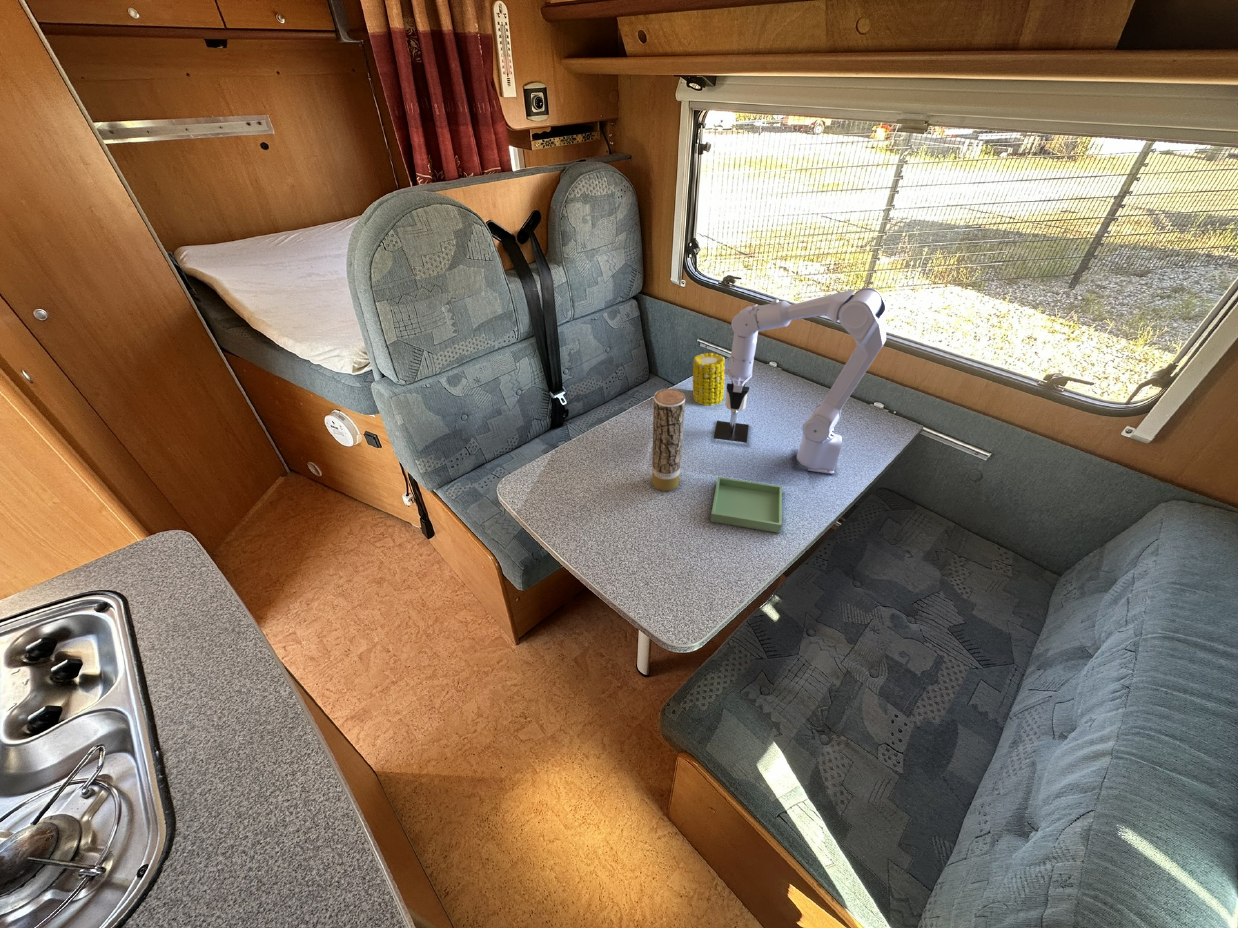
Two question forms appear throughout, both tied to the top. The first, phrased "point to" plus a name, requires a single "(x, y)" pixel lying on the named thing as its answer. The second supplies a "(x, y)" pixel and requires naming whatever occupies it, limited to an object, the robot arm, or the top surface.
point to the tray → (747, 504)
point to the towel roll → (743, 404)
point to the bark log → (667, 438)
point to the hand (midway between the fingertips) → (735, 402)
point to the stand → (731, 430)
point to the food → (708, 379)
